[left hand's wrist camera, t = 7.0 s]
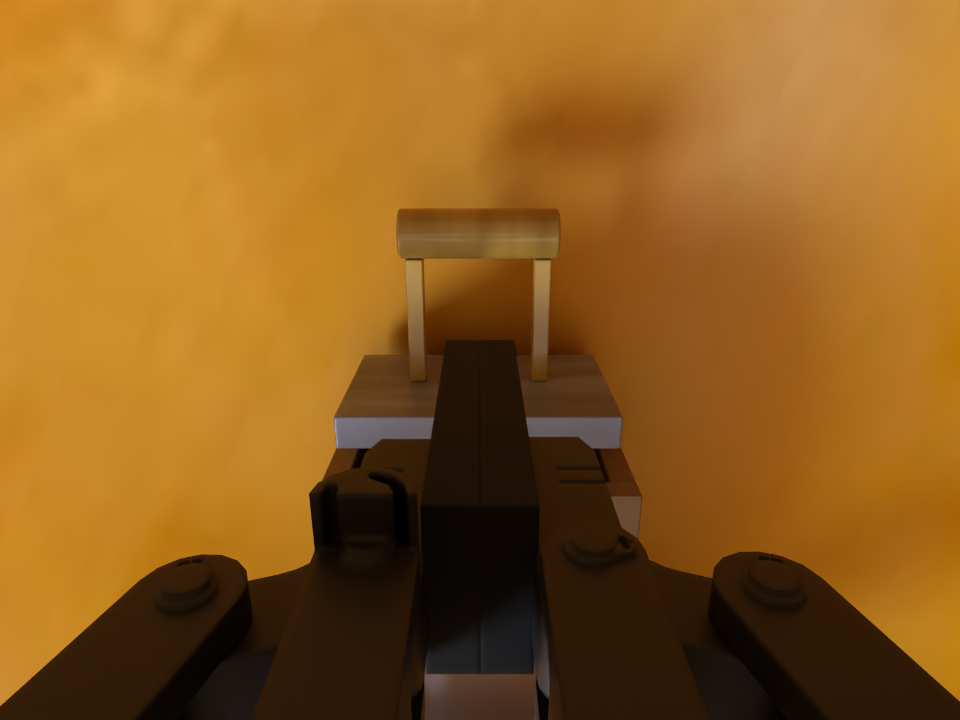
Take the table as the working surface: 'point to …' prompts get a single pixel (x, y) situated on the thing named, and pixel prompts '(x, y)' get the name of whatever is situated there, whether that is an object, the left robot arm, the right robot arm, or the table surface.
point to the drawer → (415, 377)
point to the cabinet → (511, 697)
